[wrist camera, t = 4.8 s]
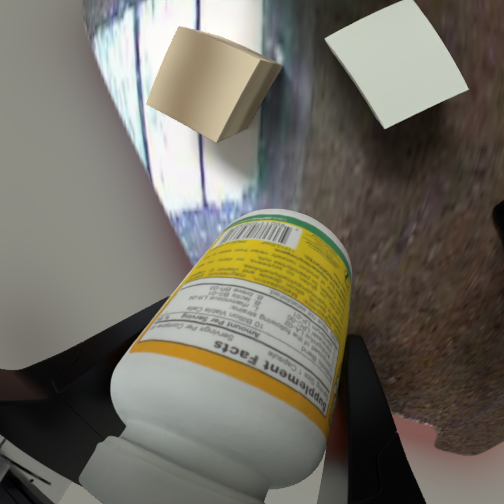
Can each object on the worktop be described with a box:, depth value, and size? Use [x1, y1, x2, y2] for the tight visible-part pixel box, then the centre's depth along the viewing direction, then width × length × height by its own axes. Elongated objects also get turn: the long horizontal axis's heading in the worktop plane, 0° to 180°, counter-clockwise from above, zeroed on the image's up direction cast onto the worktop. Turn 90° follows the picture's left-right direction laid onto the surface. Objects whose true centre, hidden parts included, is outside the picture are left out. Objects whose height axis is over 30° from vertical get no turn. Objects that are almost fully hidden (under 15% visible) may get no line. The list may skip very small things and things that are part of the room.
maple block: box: [146, 26, 283, 143], centre depth 15 cm, size 5×5×5 cm
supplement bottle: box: [79, 209, 352, 504], centre depth 7 cm, size 5×5×10 cm
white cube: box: [325, 0, 469, 129], centre depth 11 cm, size 5×5×5 cm
